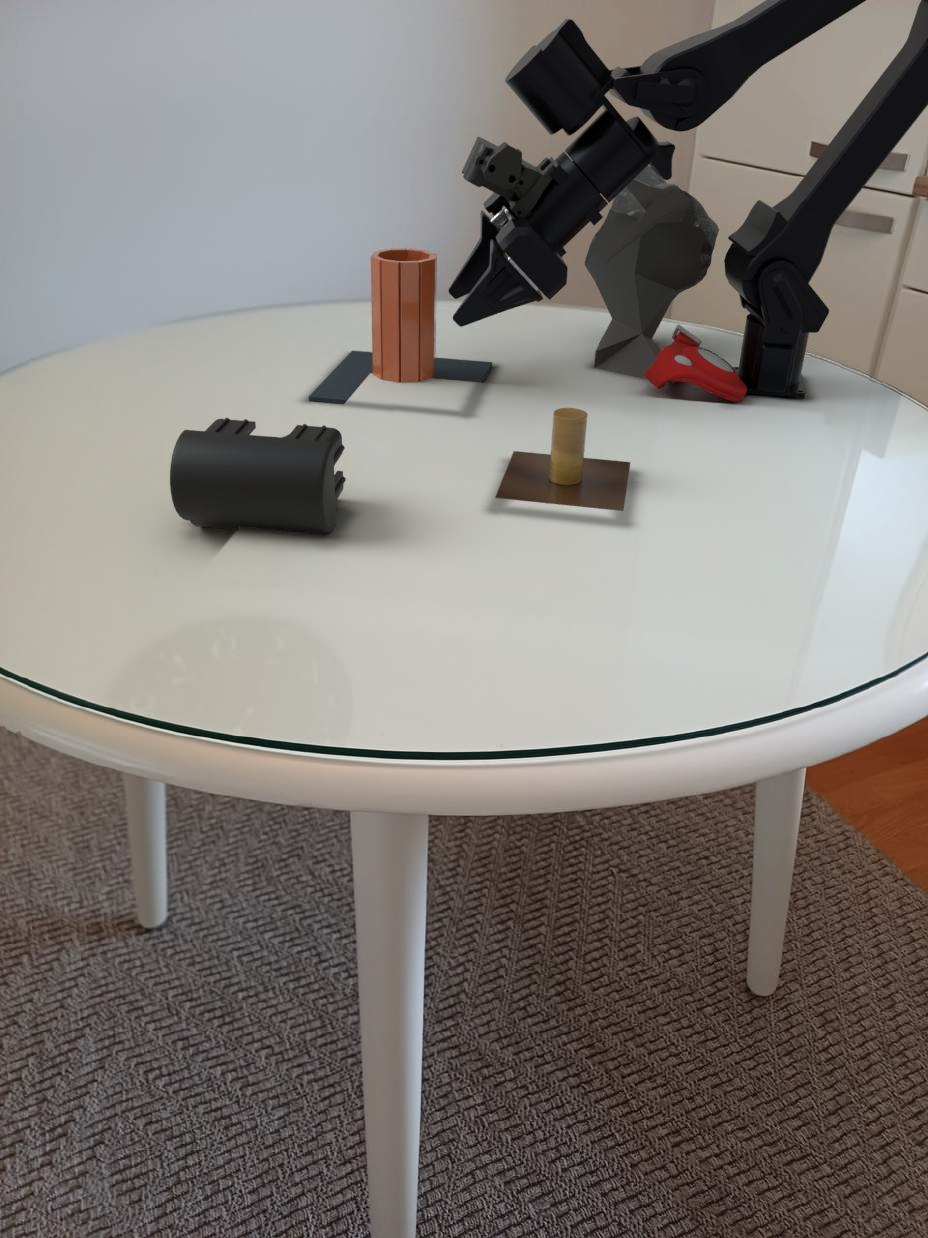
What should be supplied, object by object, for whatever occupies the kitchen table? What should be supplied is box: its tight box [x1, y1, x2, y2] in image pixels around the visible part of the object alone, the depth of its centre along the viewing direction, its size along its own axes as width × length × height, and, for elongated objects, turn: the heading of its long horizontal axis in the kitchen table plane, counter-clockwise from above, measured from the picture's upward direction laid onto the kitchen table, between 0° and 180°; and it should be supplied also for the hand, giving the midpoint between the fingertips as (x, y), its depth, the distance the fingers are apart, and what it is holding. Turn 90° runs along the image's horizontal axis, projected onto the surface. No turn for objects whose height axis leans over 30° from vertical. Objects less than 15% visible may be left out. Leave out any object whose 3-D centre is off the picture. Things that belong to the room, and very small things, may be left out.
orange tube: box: [370, 247, 438, 384], centre depth 97 cm, size 6×6×11 cm
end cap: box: [169, 417, 347, 535], centre depth 71 cm, size 10×7×7 cm
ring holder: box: [494, 407, 631, 512], centre depth 78 cm, size 9×9×6 cm
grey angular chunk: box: [584, 165, 720, 385], centre depth 106 cm, size 14×15×18 cm
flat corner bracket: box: [308, 350, 493, 405], centre depth 100 cm, size 14×14×1 cm
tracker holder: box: [644, 324, 747, 403], centre depth 100 cm, size 12×4×10 cm
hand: (453, 308), depth 97 cm, fingers open, 9 cm apart
